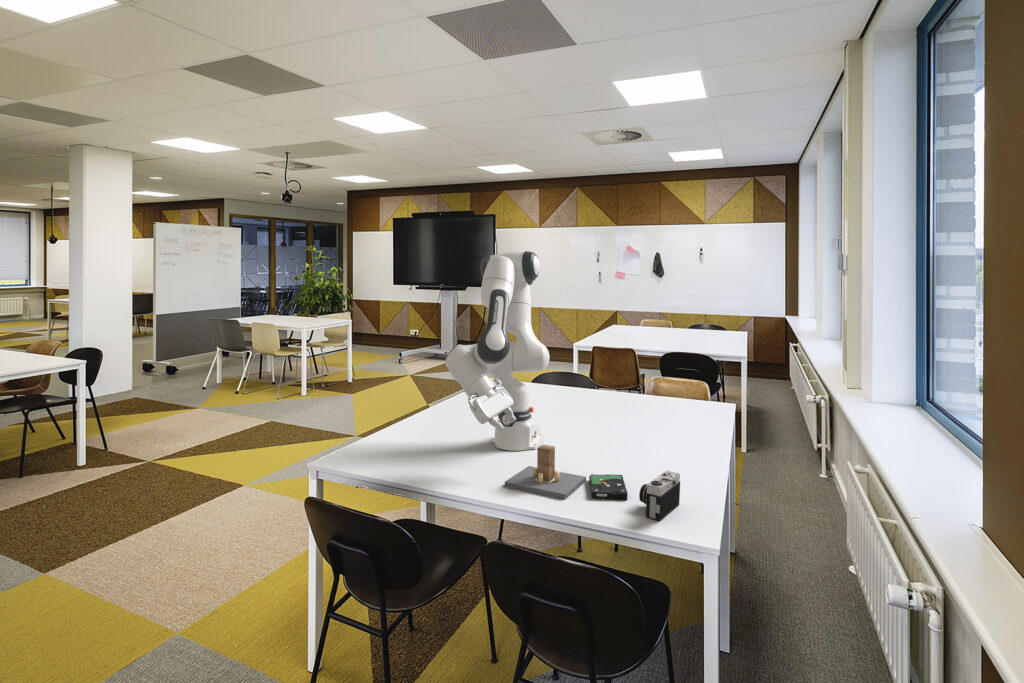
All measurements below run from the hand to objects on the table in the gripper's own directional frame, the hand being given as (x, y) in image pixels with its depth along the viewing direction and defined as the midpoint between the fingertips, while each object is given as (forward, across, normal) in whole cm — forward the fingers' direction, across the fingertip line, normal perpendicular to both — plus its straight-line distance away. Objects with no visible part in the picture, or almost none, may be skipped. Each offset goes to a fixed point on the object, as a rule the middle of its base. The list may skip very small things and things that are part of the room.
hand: (508, 425), depth 174 cm
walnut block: (+20, -1, 0) cm, 20 cm away
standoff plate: (+21, -1, +2) cm, 21 cm away
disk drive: (+34, +2, -12) cm, 36 cm away
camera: (+44, -6, -24) cm, 50 cm away
